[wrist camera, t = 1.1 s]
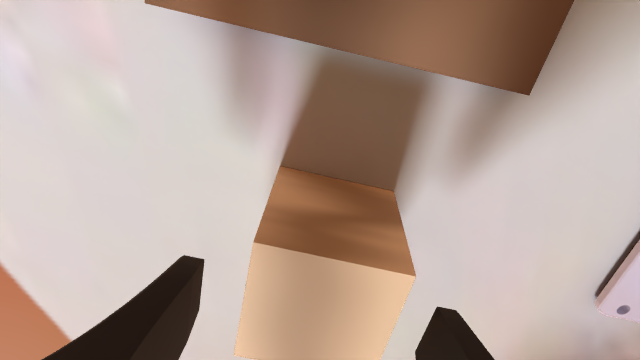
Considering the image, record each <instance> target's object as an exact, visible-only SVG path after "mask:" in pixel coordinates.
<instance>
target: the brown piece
mask: <svg viewBox="0 0 640 360" xmlns="http://www.w3.org/2000/svg"><path fill="white" fill-rule="evenodd" d="M573 2H574V0H145V3H146V4H151V5H155V6H159V7H163V8H167V9H171V10H176V11H180V12H184V13H188V14H192V15H196V16H200V17H205V18H209V19H213V20H217V21H221V22H225V23H230V24H234V25H238V26H242V27H246V28H250V29H255V30H259V31H263V32H267V33H271V34H275V35H280V36H284V37H288V38H292V39H296V40H300V41H304V42H309V43H313V44H317V45H321V46H325V47H329V48H334V49H338V50H342V51H346V52H350V53H354V54H359V55H363V56H367V57H371V58H375V59H379V60H384V61H388V62H392V63H396V64H400V65H404V66H409V67H413V68H417V69H421V70H425V71H429V72H433V73H438V74H442V75H446V76H450V77H454V78H458V79H463V80H467V81H471V82H475V83H479V84H483V85H488V86H492V87H496V88H500V89H504V90H508V91H513V92H517V93H521V94H525V95H530V93H531V90H532V88H533V86H534V84H535V82H536V80H537V78H538V76H539V74H540V71H541V69H542V67H543V65H544V63H545V61H546V59H547V57H548V55H549V52H550V50H551V48H552V46H553V44H554V42H555V40H556V38H557V35H558V33H559V31H560V29H561V27H562V25H563V23H564V21H565V19H566V16H567V14H568V12H569V10H570V8H571V6H572V4H573Z"/></svg>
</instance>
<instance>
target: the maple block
mask: <svg viewBox="0 0 640 360" xmlns="http://www.w3.org/2000/svg"><path fill="white" fill-rule="evenodd" d="M415 278H416V274H415V270H414V266H413V262H412V259H411V255H410V251H409V247H408V243H407V240H406V236H405V232H404V228H403V224H402V220H401V217H400V213H399V209H398V205H397V201H396V197H395V194H394V191H390V190H385V189H381V188H376V187H372V186H367V185H363V184H358V183H354V182H349V181H345V180H340V179H336V178H331V177H327V176H322V175H318V174H313V173H309V172H304V171H300V170H295V169H291V168H286V167H282V166H280V168H279V171H278V174H277V176H276V179H275V182H274V185H273V188H272V191H271V193H270V196H269V199H268V202H267V205H266V208H265V211H264V213H263V216H262V219H261V222H260V225H259V228H258V230H257V233H256V236H255V239H254V242H253V247H252V253H251V259H250V264H249V270H248V276H247V282H246V287H245V293H244V299H243V304H242V310H241V316H240V322H239V327H238V333H237V339H236V345H235V350H234V355H235V356H240V357H245V358H250V359H255V360H380V359H381V357H382V355H383V352H384V350H385V348H386V345H387V343H388V341H389V338H390V336H391V334H392V331H393V329H394V327H395V325H396V322H397V320H398V318H399V315H400V313H401V311H402V308H403V306H404V304H405V301H406V299H407V297H408V294H409V292H410V290H411V288H412V285H413V283H414V281H415Z"/></svg>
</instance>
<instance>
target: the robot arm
mask: <svg viewBox="0 0 640 360" xmlns="http://www.w3.org/2000/svg"><path fill="white" fill-rule="evenodd" d="M203 268H204V259H200V258H195V257H190V256H185V255H184V256H182V257H180V258H179V259H178V260H177V261H176V262H175V263H174V264H172V265H171V266H170V267H169V268H168V269H167V270H166V271H165V272H164V273H162V274H161V275H160V276H159V277H158V278H157V279H156V280H154V281H153V282H152V283H151V284H150V285H148V286H147V287H146V288H145V289H144V290H142V291H141V292H140V293H139V294H137V295H136V296H135V297H134V298H132V299H131V300H130V301H129V302H127V303H126V304H125V305H123V306H122V307H121V308H119V309H118V310H117V311H115V312H114V313H113V314H111V315H110V316H108V317H107V318H106V319H104V320H103V321H102V322H100V323H99V324H97V325H96V326H95V327H93V328H92V329H90V330H89V331H87V332H86V333H84V334H83V335H81V336H80V337H78V338H77V339H75V340H73V341H72V342H70V343H69V344H67V345H66V346H64V347H62V348H61V349H59V350H57V351H56V352H54V353H53V354H51V355H49V356H47V357H45V358H44V359H42V360H178V359H179V357H180V355H181V353H182V351H183V349H184V347H185V345H186V343H187V341H188V338H189V336H190V333H191V330H192V328H193V325H194V322H195V319H196V317H197V314H198V311H199V305H200V296H201V286H202V277H203ZM595 306H596V308H597V309H598V310H599V311H600V313H601V314H603V315H607V316H611V317H616V318H621V319H626V320H630V321H635V322H640V240H639V241H638V243H637V244H636V245H635V247H634V248H633V249H632V251H631V252H630V253H629V255H628V256H627V258H626V259H625V260H624V262H623V263H622V264H621V266H620V267H619V269H618V270H617V271H616V273H615V274H614V275H613V277H612V278H611V279H610V281H609V282H608V284H607V285H606V286H605V288H604V289H603V290H602V292H601V293H600V295H599V296H598V297H597V299H596V301H595ZM415 355H416V360H494V358H493V357H492V356H491V354H490V353H489V352H488V351H487V349H486V348H485V347H484V345H483V344H482V343H481V342H480V340H479V339H478V338H477V336H476V335H475V334H474V332H473V331H472V330H471V328H470V327H469V326H468V325H467V323H466V322H465V321H464V319H463V318H462V317H461V316H460V314H459V313H458V312H457V311H456V310H452V309H447V308H442V307H437V308H436V310H435V312H434V314H433V316H432V318H431V320H430V322H429V324H428V326H427V328H426V331H425V333H424V335H423V337H422V339H421V341H420V343H419V345H418V347H417V349H416V351H415Z"/></svg>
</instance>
